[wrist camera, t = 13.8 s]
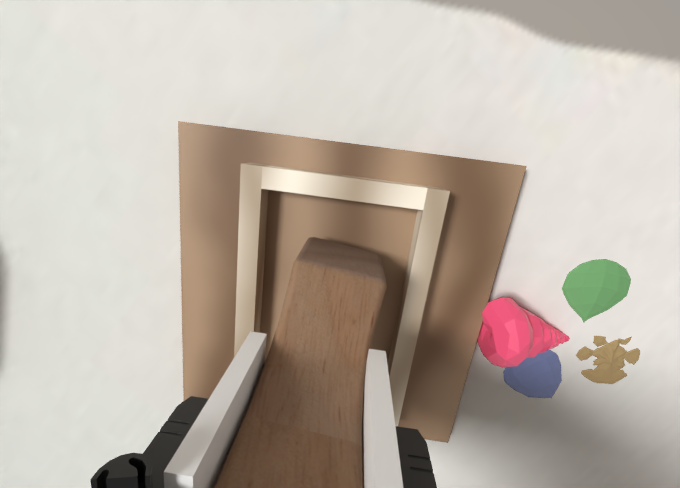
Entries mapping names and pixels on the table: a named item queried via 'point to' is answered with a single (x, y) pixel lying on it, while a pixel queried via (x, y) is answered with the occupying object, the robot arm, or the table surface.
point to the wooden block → (313, 377)
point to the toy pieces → (556, 333)
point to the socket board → (349, 229)
